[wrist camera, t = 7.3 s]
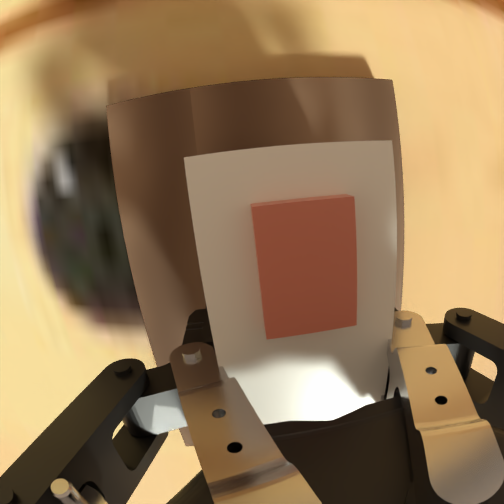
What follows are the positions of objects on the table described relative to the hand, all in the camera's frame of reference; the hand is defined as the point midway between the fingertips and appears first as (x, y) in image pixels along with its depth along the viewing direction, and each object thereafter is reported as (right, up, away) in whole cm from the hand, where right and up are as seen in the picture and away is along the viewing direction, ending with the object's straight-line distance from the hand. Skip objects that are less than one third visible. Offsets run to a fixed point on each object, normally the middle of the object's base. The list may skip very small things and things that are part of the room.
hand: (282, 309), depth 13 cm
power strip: (0, 0, +1) cm, 1 cm away
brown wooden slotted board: (0, +1, +3) cm, 3 cm away
